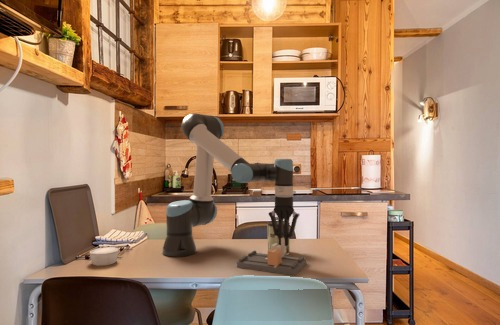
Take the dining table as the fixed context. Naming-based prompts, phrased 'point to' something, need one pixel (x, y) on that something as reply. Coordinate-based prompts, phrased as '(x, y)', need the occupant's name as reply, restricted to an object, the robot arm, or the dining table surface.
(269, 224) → the coffee can
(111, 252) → the ramekin
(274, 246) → the off-white fader knob
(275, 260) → the terracotta fader knob
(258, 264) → the console
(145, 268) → the dining table surface
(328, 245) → the dining table surface
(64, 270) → the dining table surface
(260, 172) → the robot arm
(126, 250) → the dining table surface
